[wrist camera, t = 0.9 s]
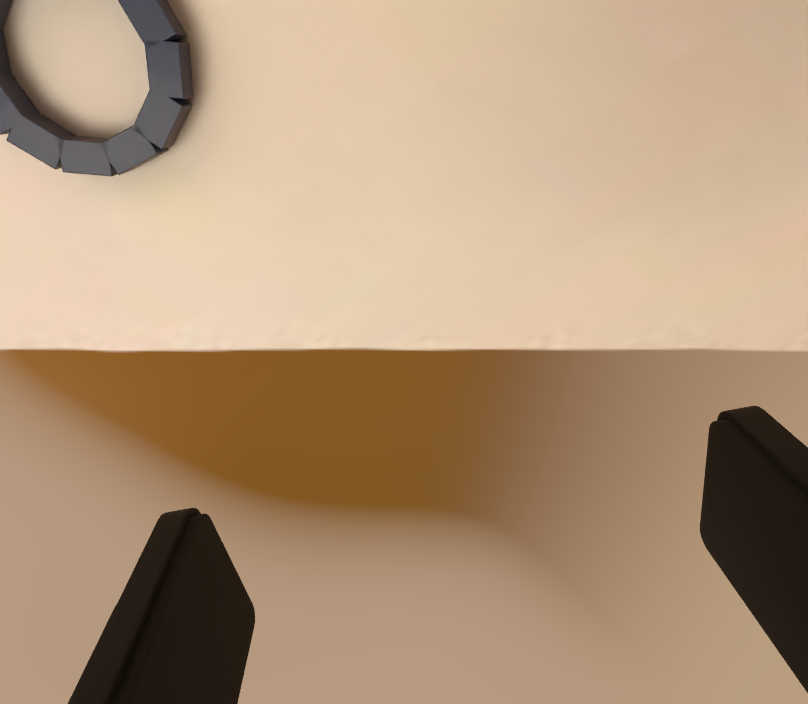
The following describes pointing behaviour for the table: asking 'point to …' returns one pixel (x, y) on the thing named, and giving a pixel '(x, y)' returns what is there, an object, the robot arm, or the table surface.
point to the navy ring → (148, 138)
